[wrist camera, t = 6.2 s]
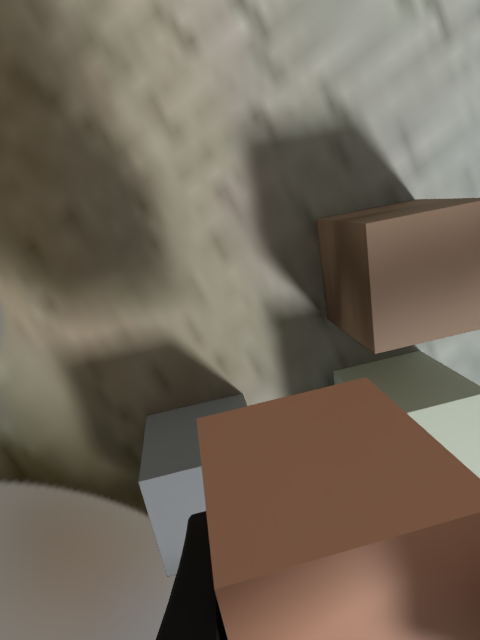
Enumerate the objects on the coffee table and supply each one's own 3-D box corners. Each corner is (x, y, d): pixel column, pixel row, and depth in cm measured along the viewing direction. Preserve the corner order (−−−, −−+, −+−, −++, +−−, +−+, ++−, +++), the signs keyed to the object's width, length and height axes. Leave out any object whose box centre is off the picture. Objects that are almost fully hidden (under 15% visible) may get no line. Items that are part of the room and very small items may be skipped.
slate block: (256, 470, 22) (280, 545, 17) (168, 493, 21) (167, 576, 16) (242, 392, 20) (264, 450, 15) (146, 415, 20) (138, 481, 15)
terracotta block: (377, 512, 13) (497, 694, 8) (229, 554, 12) (264, 775, 7) (366, 377, 11) (508, 503, 6) (196, 418, 11) (213, 589, 6)
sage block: (421, 427, 23) (486, 486, 18) (341, 448, 22) (386, 514, 17) (418, 350, 21) (489, 392, 16) (332, 370, 21) (379, 419, 16)
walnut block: (417, 297, 20) (491, 326, 15) (326, 318, 20) (375, 353, 15) (413, 199, 19) (495, 197, 14) (315, 218, 18) (365, 223, 13)
